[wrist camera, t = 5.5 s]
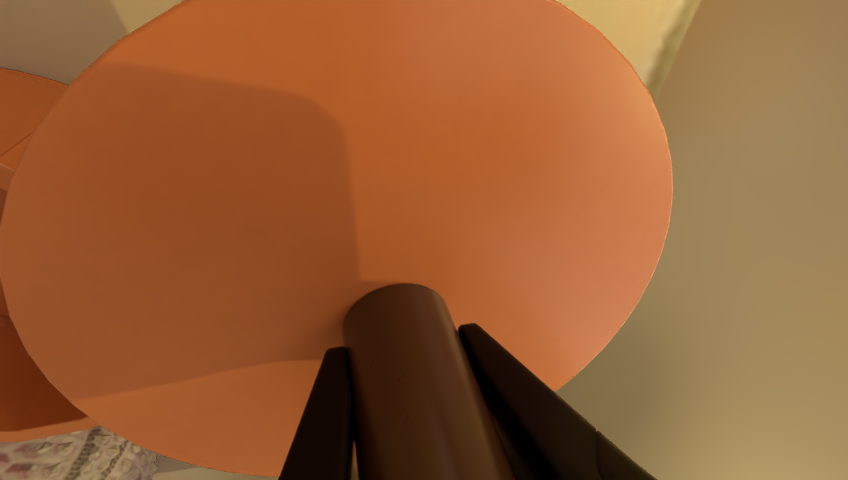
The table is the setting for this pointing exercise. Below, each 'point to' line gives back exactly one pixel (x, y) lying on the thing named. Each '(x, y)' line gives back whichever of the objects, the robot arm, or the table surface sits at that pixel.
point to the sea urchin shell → (77, 458)
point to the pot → (3, 349)
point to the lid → (333, 223)
